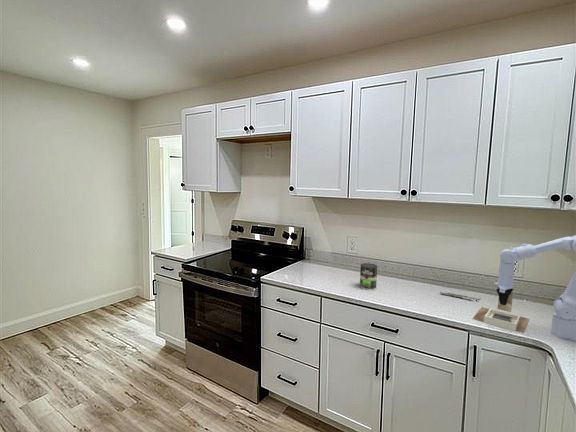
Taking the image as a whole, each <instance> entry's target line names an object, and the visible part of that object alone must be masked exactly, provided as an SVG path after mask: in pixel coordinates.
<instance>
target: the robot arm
mask: <svg viewBox="0 0 576 432" xmlns="http://www.w3.org/2000/svg"><path fill="white" fill-rule="evenodd" d="M559 249H563V250H567V251H571V250H572V251H574V252H575V253H576V234H575V235H572V236H564V237H560V238H556V239H554V240H549V241H546V242H543V243H539V244H535V245H534V244H530V243H528V244H527V243H522V245H521V246H516V247H513V246H511V247H510V248H505V249H503V250H502V251H500V253H499V257H500V261H499V263H500V264H499V269H498V279H497V282H494V285H496V286H498V288H496V293H497V295H498V299H499V301H500V304H501V305H506V303H507V300H508V297H509V295H510V294H512V292H513V290H514V280H515V279H514V278H515V264H516V263H515V262H517V261H522V260H526V259H530V258H535V257H536V256H537V254H538V253H544V252H548V251H553V250H554V251H555V250H559ZM568 282H569V283H568V284H567V286H566V288H565V290H564V291H563V293H561V294H560V295H559V297H558V298H557V299H555V300H554V302H553V303H552V304H553V307H554V309H555V311H553V313H552V318H551V328H550V334H551V335H553V336H555V337H557V338H560V339H566V340H570V341H574V342H576V270H575V271H574V273H573V274H572V277H571V278H570V279H569V281H568Z"/></svg>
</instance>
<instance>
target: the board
mask: <svg viewBox="0 0 576 432" xmlns="http://www.w3.org/2000/svg"><path fill="white" fill-rule="evenodd" d="M489 309H490V308H489V307H488V308H487V307H483V306H482V307H480V309H479V310H478V311H477V312H476V313H475V314H474V316H473V317H472V318H471V320H474V321H477V322H481V323H485V322H484V318H485V315H486V314H487V312H488V311H489ZM529 321H530V318H527V317H524V316H520V322H519V324H518V327H517V329H516V331H515V332H518V333H522V334H525V332H526V329H527V327H528V324H529ZM487 324H488V325H490V324H489V323H487ZM498 327H500V326H498ZM500 328H501V327H500ZM509 330H510V331H512V330H511V329H509Z"/></svg>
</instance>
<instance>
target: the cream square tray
mask: <svg viewBox="0 0 576 432" xmlns="http://www.w3.org/2000/svg"><path fill="white" fill-rule="evenodd" d="M488 309H489V311H488V312H487V314H486V315H485V318H484V322H483V323H485V324H488V323H489V324H488V325H492V326H496V327H499V326H500V328H502V329H507V330H510V329H511V330H510V331H514V332H517V331H516V329H517V327H518V324H519V322H520V317H521V316H520V315H518V314H513V313H511V312H507V311H503V310H499V309H498V310H497V309H494V308H488Z"/></svg>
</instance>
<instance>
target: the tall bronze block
mask: <svg viewBox="0 0 576 432" xmlns="http://www.w3.org/2000/svg"><path fill="white" fill-rule="evenodd" d="M513 298H514V293H511V294H510V295H509V297H508V300H507V303H506V305H501V304H500V301H499V298H498V302H497V307H496V310H497V309H498V310H499V311H503V312H507V313H511V311H512V306H513V300H514V299H513Z"/></svg>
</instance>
